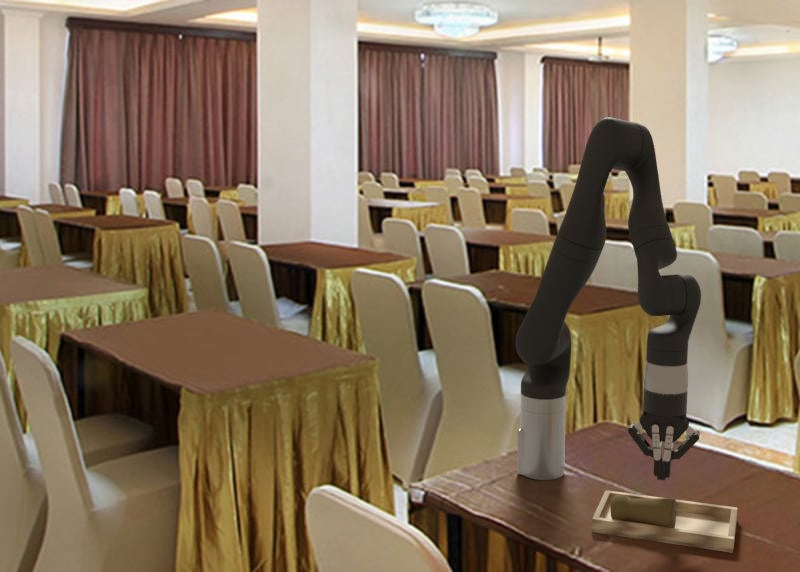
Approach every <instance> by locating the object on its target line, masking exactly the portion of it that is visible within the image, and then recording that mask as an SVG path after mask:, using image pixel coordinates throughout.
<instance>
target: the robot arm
mask: <svg viewBox="0 0 800 572" xmlns="http://www.w3.org/2000/svg"><path fill="white" fill-rule="evenodd" d="M654 143H655V142H654V140H653V136H652V134H651V132H650V130H649V129H648V128H647V127H646V126H645V125H642V124H640V123H638V122H634V121H629V120H625V119H620V118H615V117H604V118H601V119H600V120H598V122H596V124H595V125H594V127H592V130H591V131H590V133H589V136H588V139H587V141H586V145H585V148H584V152H583V155H582V160H581V163H580V166H579V167H580V168H579V171H578V173H577V174H578V175H577V178H576V180H575V181H576V182H575V186H574V188H573V191H572V194H571V197H570V200H569V203H568V205H567V209H566V211H565V214H564V217H563V219H562V221H561V224H560V226H559V229H558V232H557V234H556V236H555V239H554V242H553V244H552V247H551V249H550V254H549V256H548V259H547V262H546V265H545V268H544V270H543V272H542V276H541V279H540V283H539V285H538V288H537V290H536V293H535V295H534V299H533V300H532V303H531V304H530V306H529V309H528V310H527V312H526V314H525V316H524V318H523V321H522V323H521V325H520V326H519V328H518V330H517V333H516V337H515V348H516V352H517V354H518V356H519V357H520V359H521V361H523V362H524V363H526V364H527V367H526V370H525V373H524V375H523V376H522V378H521V380H520V418H519V421H520V423H519V424H520V426H519V428H518V430H517V440H516V441H517V444H516V445H517V448H516V449H517V451H516V452H517V453H516V458H517V459H516V461H517V462H516V474H517V475H522V476H523V477H526V478H528V479H531V480H538V481H550V480H556V479H560V478H561V477H563V476H564V475H565V454H566V453H565V452H566V451H565V449H566V447H565V445H566V401H567V400H566V399H567V397H566V396H567V385H568V382H569V379H570V375H571V360H572V334H571V331H570V328H569V325H568V324H567V322H566V321H565V320H566V317H567V315H568V312H569V310H570V308H571V306H572V305H573V303H574V301H575V299H576V298H577V297H578V296H579V294H580V293H581V291H582V290H583V289H584V287H585V285H586V284H587V282H588V281H589V279H590V277H591V276H592V274H593V272H594V271H595V269H596V266H597V265H598V261H599V259H600V256H601V254H602V252H603V249H604V247H605V244H606V240H607V225H606V216H605V210H604V203H603V202H604V201H603V200H604V192H605V189H606V186H607V183H608V179H609V177H610V174H611V172H612V170H615V171H622V172H625V173H626V175H627V178H628V179H629V182H630V184H631V186H632V187H631V188H632V202H631V206H630V209H629V213H628V214H629V215H628V218H627V220H628V221H627V225H628V226H627V227H628V228H627V229H628V234H629V238H630V241H631V245H632V247H633V248H632V249H633V251H634V254H635V258H636V264H637V300H638V304H639V306H640V307H641V309H642V311H644V312H645V313H646V314H647V315H649V316H651V317H663V316H664V317H666V316H669V317H668V319H667V321H666V322H665V323H663V324H661V325H659V326H655V327H654V328H651V329H650V330H649V331H648V333H647V337H646V355H645V356H646V357H645V358H646V359H645V368H644V373H643V381H642V382H643V383H642V384H643V395H642V396H643V397H642V413H641V414H640V417H639V420H638V421H637V422H635V423H631V424H630V425H629V426H628V428H627V432H628V434H629V436H630V437H631V438H632V440H633V441H634V442H635V444H636V445H637V447H639V449H640V451H641V453H643V455H644V456H646V457H651V458H652V459H653V476H654V477H656V480H658V481H664V482H665V481H666V480H667V479H669V478H670V476H671V472H672V461H673V460H680V459H681V458H682V457H683V456H684V455H685V454H687V452H688V451H689V450H690V449H691V448H692V447H693V446H694V445H695V444H696V443H697V442H698V441H699V440H700V438H701V437H700V436H701V432H700V431H699V430H695V429H693V428H692V426H690V421H689V419H688V417H687V413H688V412H687V411H688V410H687V409H688V407H687V406H688V393H689V392H688V389H689V370H688V356H689V355H688V354H689V352H688V351H689V340H690V336H691V334H692V331H693V327H694V326H695V325H694V324H695V322H696V319H697V315H698V313H699V310H700V306H701V302H702V291H701V287H700V285H699V282H698V281H697V279H696V278H695V277H694V276H692V275H691V274H687V273H685V274H684V273H682V274H681V273H679V274H663V275H661V273H660V270H662V269H665V268H667V267H669V266H671V265H672V264H673V263H674V262H676V260H677V257H678V252H677V247H676V243H675V241H674V238H673V234H672V232H671V229H670V225H669V222H668V220H667V217H666V213H665V208H664V204H663V198H662V193H661V185H660V184H661V182H660V177H659V170H658V162H657V156H656V155H657V154H656V148H655V144H654ZM643 430H644V431H645V433H646V434H647V436H648V437H649V439H650V440H652V445H651V444H650V442H649V441H648V440H647V438H646V437H645V436H644V434H643ZM684 433H685V436H684V441H683V442H682V443H681V444H679V446H678V447H677V448H676V449H673V447H674V443H675V442H676V441H678V440H679V439H680V437H681V436H682V435H683V434H684ZM663 442H664V447H663V445H662V444H663ZM663 448H664V451H663Z"/></svg>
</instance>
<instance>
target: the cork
mask: <svg viewBox="0 0 800 572" xmlns="http://www.w3.org/2000/svg"><path fill="white" fill-rule="evenodd" d="M675 499H676V498H674V497H669V498H667V497H661V498H654V499H630V498H629V497H628V496H625V495H616V496H614V498H613V499H612V502H611V509H610V511H611V518H612V519H613V520H620V521H627V522H634V523H641V524H648V525H655V526H662V527H669V528H675V523H676V500H677V499H676V500H675Z"/></svg>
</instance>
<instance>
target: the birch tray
mask: <svg viewBox="0 0 800 572" xmlns="http://www.w3.org/2000/svg"><path fill="white" fill-rule="evenodd" d="M616 495H625V496H628V497H629V498H630V499H654V498H662V497H660V496H652V495H645V494H644V495H643V494H638V493H637V494H636V493H630V492H621V491H615V490H614V491H613V490H607V489H606V490H605V491H604V493H603V495H602V497H601V500H600V501H599V503H598V506H597V508H596V509H595V511H594V514H593V516H592V519H591V520H592V521H591V532H592V533H597V534H604V535H609V536H611V535H612V536H618V537H624V538H625V537H626V538H630V539H638V540H642V541H643V540H644V541H649V542H650V541H652V542H658V543H662V544H663V543H665V544H670V545H671V544H673V545H676V546H677V545H679V546H683V547H691V548H697V549H698V548H699V549H704V550H705V549H706V550H709V551H711V550H712V551H719V552H723V553H724V552H725V553H731V554H734V547H735V538H736V530H737V521H738V507H737V506H736V507H735V506H728V505H719V504H713V503H704V502H697V501H692V500H691V501H690V500H683V499H676V498H675V500H676V523H675V528H669V527H662V526H655V525H648V524H641V523H634V522H627V521H620V520H613V519H612V518H611V511H610V509H611V502H612V499H613V498H614V496H616Z"/></svg>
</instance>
